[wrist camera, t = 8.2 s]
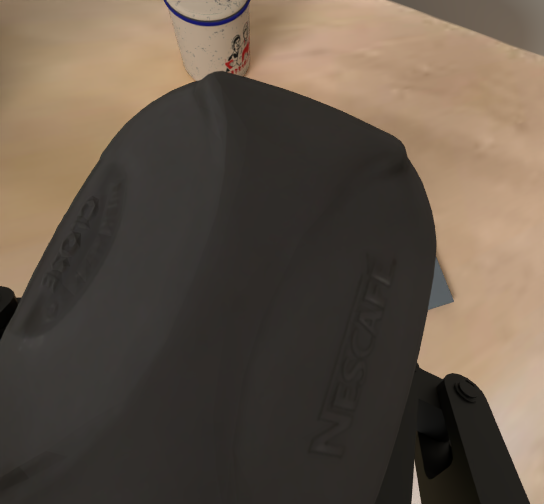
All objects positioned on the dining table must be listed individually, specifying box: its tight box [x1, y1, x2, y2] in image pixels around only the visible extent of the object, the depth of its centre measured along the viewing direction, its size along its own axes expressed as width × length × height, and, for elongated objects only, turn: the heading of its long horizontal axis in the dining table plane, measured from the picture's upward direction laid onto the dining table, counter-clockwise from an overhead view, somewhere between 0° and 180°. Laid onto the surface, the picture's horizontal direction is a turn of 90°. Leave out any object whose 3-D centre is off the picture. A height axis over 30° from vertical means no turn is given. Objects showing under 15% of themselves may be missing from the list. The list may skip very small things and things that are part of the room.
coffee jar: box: [0, 71, 436, 504], centre depth 13 cm, size 10×8×19 cm
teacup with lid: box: [164, 0, 250, 81], centre depth 31 cm, size 12×9×12 cm
